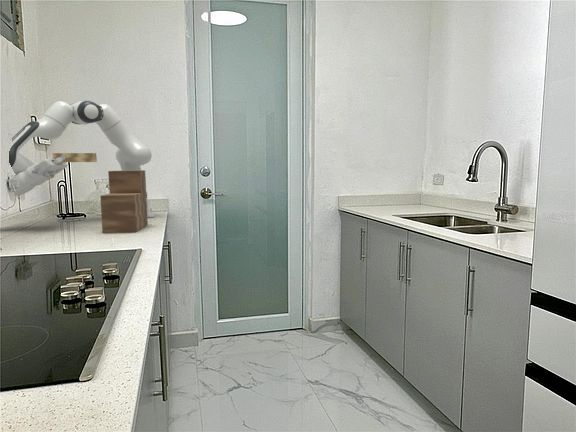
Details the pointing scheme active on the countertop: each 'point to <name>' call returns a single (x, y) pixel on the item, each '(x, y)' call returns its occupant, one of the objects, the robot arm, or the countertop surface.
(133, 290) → the countertop surface
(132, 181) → the step shelf
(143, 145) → the robot arm
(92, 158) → the tan rectangular block
